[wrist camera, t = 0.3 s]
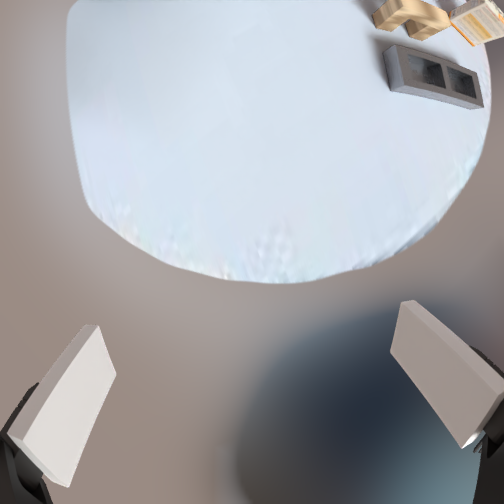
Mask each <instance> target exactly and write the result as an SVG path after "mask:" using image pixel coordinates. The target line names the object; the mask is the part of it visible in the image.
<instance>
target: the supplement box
mask: <svg viewBox="0 0 504 504" xmlns="http://www.w3.org/2000/svg"><path fill="white" fill-rule="evenodd" d="M449 20H450V23H451V25H452V26H454V27H455V28H456V29H457V30H458V31H459V32H460V33H461V34H462V35H463V36H464V37H465V38H466V39H467V40H468V42H469V43H470V44H471V45H472V46H476V45H479V44H482V43H485V42H488V41H491V40H494V39H497V38H500V37H504V14H503V12H502V11H501V10H500V9H499V8H498V7H497V6H496V4H495V3H494V2H493V1H492V0H471V1H469V2H467V3H465V4H463V5H461V6H459V7H457V8H456V9H454V10H452V11H450V14H449Z"/></svg>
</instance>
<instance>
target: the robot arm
mask: <svg viewBox="0 0 504 504" xmlns="http://www.w3.org/2000/svg"><path fill="white" fill-rule="evenodd" d="M390 352H391V354H392V355H393V356H394V357H395V359H396V360H397V361H398V363H399V364H400V365H401V366H402V368H403V369H404V370H405V372H406V373H407V374H408V376H409V377H410V378H411V379H412V381H413V382H414V383H415V385H416V386H417V387H418V389H419V390H420V391H421V392H422V394H423V395H424V397H425V398H426V399H427V401H428V402H429V403H430V405H431V406H432V408H433V409H434V410H435V412H436V413H437V414H438V416H439V417H440V418H441V420H442V421H443V423H444V424H445V426H446V427H447V429H448V430H449V431H450V433H451V434H452V436H453V437H454V438H455V440H456V441H457V443H458V444H459V446H460V447H461V448H463V447H465V446H467V445H468V444H470V443H471V442H473V441H474V440H475V439H476V438H477V437H478V436H479V434H480V433H481V431H482V430H484V431H485V432H486V434H485V435H484V437H483V438H482V439H481V440H480V442H479V443H478V444H477V445H476V447H475V448H474V451H473V452H474V453H475V452H476V451H477V450H478V449H479V447H480V446H481V445H482V448H481V449H480V451H479V453H481V459H480V467H479V474H478V480H477V485H476V490H475V495H474V499H473V504H504V373H503V372H502V371H501V370H500V369H499V368H498V367H497V366H496V365H493V362H492V361H490V360H489V359H487V357H486V356H485V355H484V354H483V353H482V352H481V351H479V350H478V349H476V348H474V347H472V346H468V345H467V344H465V343H464V342H463V341H462V340H461V339H460V338H459V337H458V336H456V335H455V334H454V333H453V332H452V331H451V330H450V329H448V328H447V327H446V326H445V325H444V324H443V323H441V322H440V321H439V320H438V319H437V318H435V317H434V316H433V315H432V314H431V313H429V312H428V311H427V310H426V309H425V308H423V307H422V306H421V305H420V304H418V303H417V302H416V301H415V300H410V301H405V302H401V305H400V310H399V315H398V321H397V325H396V329H395V334H394V338H393V342H392V346H391V350H390ZM115 376H116V372H115V369H114V367H113V364H112V362H111V359H110V357H109V354H108V351H107V349H106V346H105V343H104V340H103V337H102V334H101V331H100V328H99V326H98V325H84V326H83V327H82V329H81V330H80V331H79V332H78V334H77V335H76V336H75V337H74V339H73V340H72V341H71V342H70V344H69V345H68V346H67V347H66V349H65V350H64V351H63V352H62V354H61V355H60V356H59V358H58V359H57V360H56V362H55V363H54V364H53V366H52V367H51V368H50V370H49V371H48V372H47V374H46V375H45V376H44V378H43V380H42V381H41V382H40V383H36V384H35V385H34V386H33V387H31V388H30V389H29V390H28V391H27V392H26V394H25V396H24V397H23V400H21V401H20V403H19V404H18V407H16V408H15V410H14V411H13V413H12V414H11V416H10V418H9V419H8V421H7V422H6V424H5V425H4V427H3V428H2V430H1V431H0V504H53V502H52V500H51V497H50V495H49V492H48V489H47V487H46V484H45V482H44V480H43V479H42V478H41V477H42V475H43V473H44V474H45V475H46V476H47V477H48V478H49V479H50V480H51V481H52V482H55V483H58V484H60V485H62V486H65V487H68V488H69V486H70V483H71V481H72V478H73V475H74V472H75V470H76V467H77V464H78V462H79V459H80V456H81V454H82V451H83V449H84V446H85V444H86V442H87V439H88V437H89V434H90V432H91V429H92V427H93V425H94V422H95V420H96V418H97V416H98V413H99V411H100V409H101V406H102V404H103V402H104V400H105V397H106V396H107V393H108V391H109V389H110V387H111V385H112V383H113V381H114V378H115Z"/></svg>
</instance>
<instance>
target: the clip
mask: <svg viewBox="0 0 504 504" xmlns="http://www.w3.org/2000/svg"><path fill="white" fill-rule="evenodd" d="M372 16H373V19H374V23H375V26H376V28H377V29H382V30H386V31H390V32H392V31H393V30H394V29H396V28H397V27H398V26H400V25H401V24H403V23H404V22H405V21H407V20H408V19H411V20H410V21H409V22H407V23H406V24H405V25H406V28H407V31H408V34H409V37H411V38H414V39H417V40H421V41H423V40H425V39H427V38H428V37H430V36H432V35H434V34H436V33H438V32H440V31H442V30H444V29H446V28H448V27H450V26H452V25H451V23H450V20H449V18H448V15H447V13H446V11H444V10H442V9H440V8H437V7H435V6H433V5H431V4H428V3H426V2H423V1H421V0H388V1H387V2H385V3H384V4H383V5H382V6H381V7H380V8H379V9H378V10H377V11H376V12H375V13H374V14H373V15H372Z"/></svg>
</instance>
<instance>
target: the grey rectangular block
mask: <svg viewBox="0 0 504 504" xmlns="http://www.w3.org/2000/svg"><path fill="white" fill-rule="evenodd" d="M383 56H384V61H385V65H386V70H387V75H388V80H389V85H390V91H394V92H400V93H405V94H410V95H416V96H420V97H425V98H429V99H434V100H438V101H442V102H446V103H449V104H453V105H457V106H460V107H463V108H467V109H478V108H484V105H483V99H482V94H481V90H480V85H479V81H478V76H477V73H476V72H473V71H471V70H469V69H467V68H464V67H462V66H459V65H457V64H454V63H452V62H449V61H447V60H444V59H441V58H439V57H436V56H433V55H430V54H427V53H424V52H420V51H417V50H414V49H410V48H407V47H403V46H399V45H393V46H392V47H390V48H389V49H387V50H386V51H384V52H383Z"/></svg>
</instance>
